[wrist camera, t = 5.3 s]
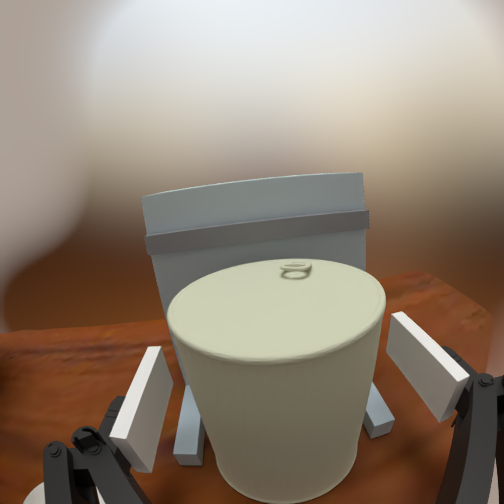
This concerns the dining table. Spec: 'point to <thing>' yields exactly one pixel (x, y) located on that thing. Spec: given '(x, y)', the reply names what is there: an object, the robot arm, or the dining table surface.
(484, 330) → the dining table surface
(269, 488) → the can
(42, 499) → the coaster
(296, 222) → the pale blue footed box
